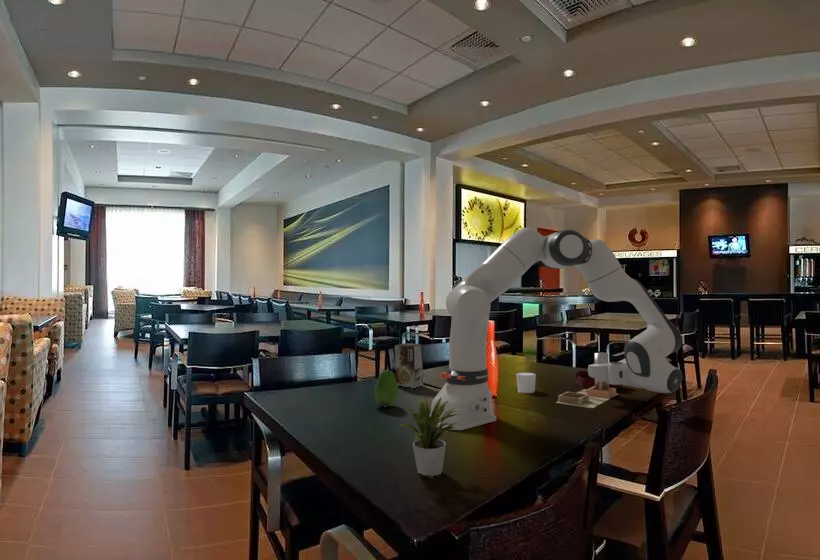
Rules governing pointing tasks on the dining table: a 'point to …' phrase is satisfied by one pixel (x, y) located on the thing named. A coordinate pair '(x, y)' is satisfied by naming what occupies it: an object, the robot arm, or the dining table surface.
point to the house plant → (430, 437)
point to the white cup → (526, 382)
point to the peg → (600, 359)
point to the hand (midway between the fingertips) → (599, 365)
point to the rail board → (581, 399)
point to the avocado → (386, 389)
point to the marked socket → (601, 392)
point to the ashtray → (588, 380)
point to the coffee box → (409, 364)
